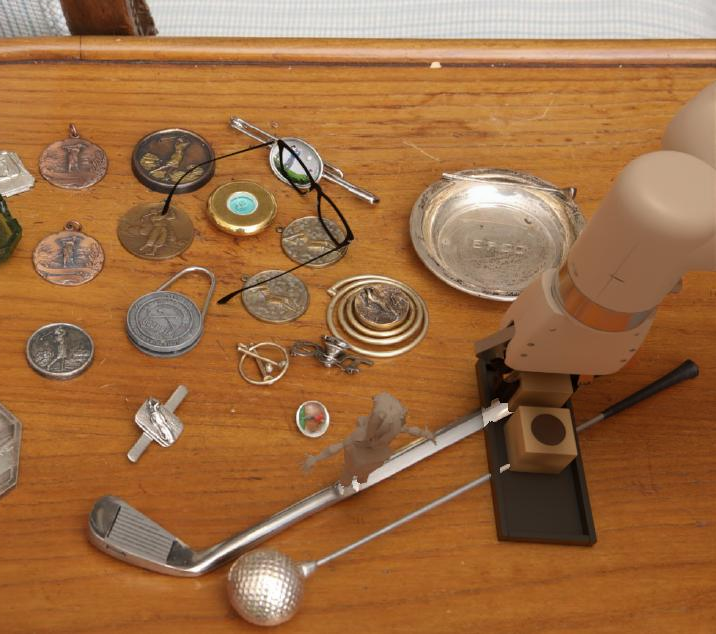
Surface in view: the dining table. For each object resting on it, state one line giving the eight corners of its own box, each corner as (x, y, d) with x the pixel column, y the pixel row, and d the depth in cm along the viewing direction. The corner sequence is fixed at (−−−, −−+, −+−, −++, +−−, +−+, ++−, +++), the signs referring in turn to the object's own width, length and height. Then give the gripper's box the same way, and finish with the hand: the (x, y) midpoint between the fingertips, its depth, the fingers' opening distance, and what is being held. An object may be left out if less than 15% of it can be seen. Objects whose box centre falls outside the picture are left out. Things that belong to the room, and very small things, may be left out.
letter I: (548, 372, 88) (566, 348, 84) (555, 414, 86) (574, 391, 82) (500, 369, 88) (516, 345, 84) (506, 411, 86) (523, 389, 82)
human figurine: (402, 459, 85) (455, 367, 70) (417, 497, 83) (476, 410, 68) (278, 487, 84) (305, 399, 68) (290, 526, 82) (321, 445, 66)
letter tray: (557, 371, 90) (564, 362, 88) (589, 548, 81) (597, 542, 79) (473, 366, 90) (478, 357, 89) (495, 542, 81) (502, 536, 80)
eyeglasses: (356, 260, 97) (363, 237, 93) (225, 317, 93) (228, 296, 90) (277, 154, 104) (281, 129, 101) (153, 203, 101) (153, 179, 97)
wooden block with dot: (551, 429, 86) (570, 407, 82) (558, 474, 84) (578, 454, 80) (502, 426, 86) (519, 404, 82) (509, 471, 84) (526, 450, 80)
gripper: (705, 251, 73) (610, 361, 89) (491, 240, 74) (434, 351, 89) (730, 332, 69) (626, 432, 85) (503, 320, 70) (442, 422, 85)
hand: (528, 390), depth 87 cm, fingers closed on letter I, 4 cm apart
